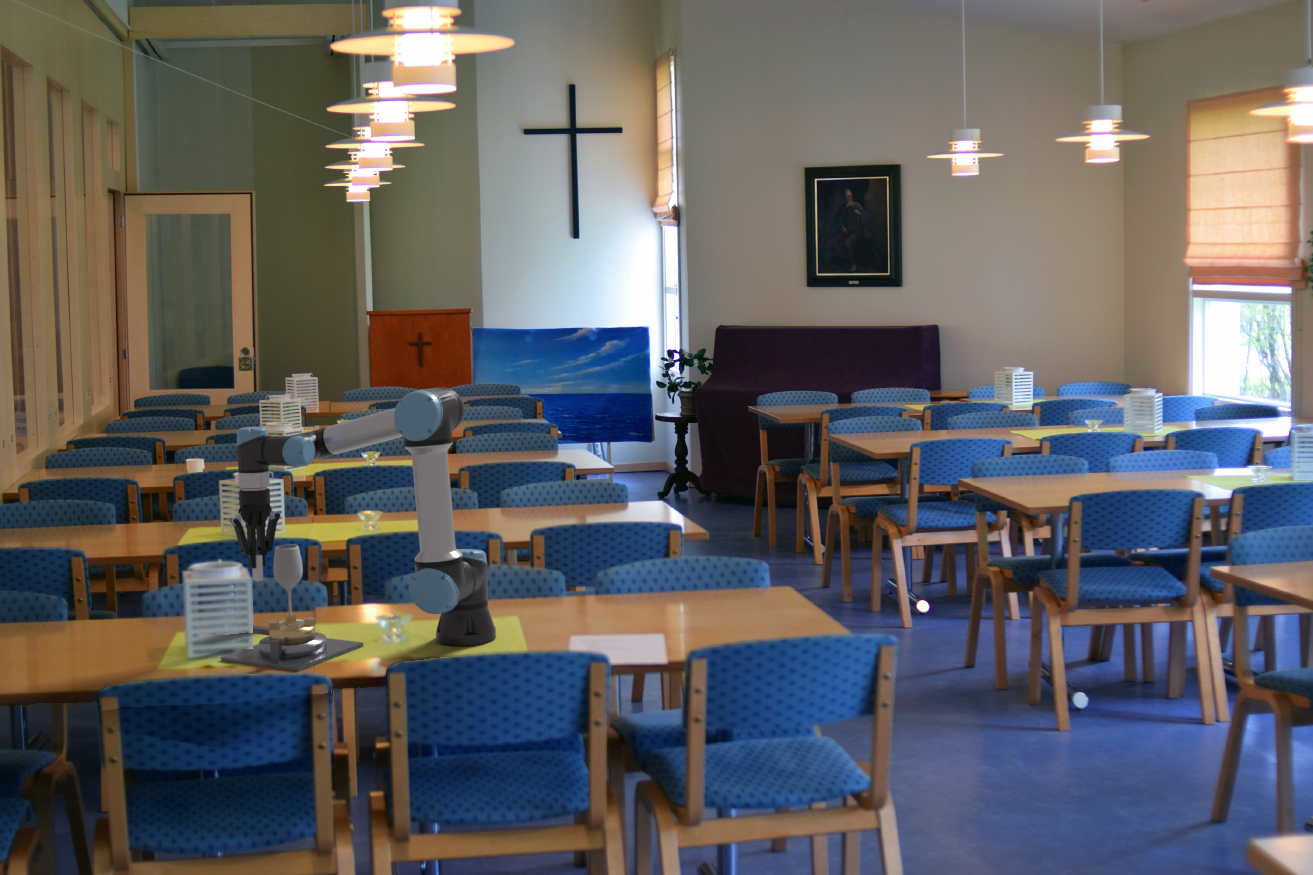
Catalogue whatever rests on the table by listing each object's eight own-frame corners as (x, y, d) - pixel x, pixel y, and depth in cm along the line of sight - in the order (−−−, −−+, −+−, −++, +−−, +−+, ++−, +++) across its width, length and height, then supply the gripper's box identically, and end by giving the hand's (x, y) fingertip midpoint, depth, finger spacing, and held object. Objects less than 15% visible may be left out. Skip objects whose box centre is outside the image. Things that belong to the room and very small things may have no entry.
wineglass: (276, 627, 349) (272, 550, 347) (276, 620, 356) (272, 544, 354) (305, 625, 351) (301, 548, 349) (305, 618, 358) (301, 543, 356)
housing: (363, 646, 328) (362, 622, 328) (298, 671, 307) (297, 646, 306) (289, 637, 339) (287, 614, 338) (220, 660, 317) (219, 636, 317)
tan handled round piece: (325, 635, 325) (323, 605, 324) (294, 646, 315) (293, 615, 314) (253, 626, 335) (252, 598, 334) (222, 636, 325) (220, 607, 324)
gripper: (270, 484, 337) (274, 574, 340) (222, 489, 328) (226, 581, 331) (285, 487, 332) (288, 578, 334) (236, 492, 323) (240, 586, 325)
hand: (258, 580), depth 333 cm, fingers closed
